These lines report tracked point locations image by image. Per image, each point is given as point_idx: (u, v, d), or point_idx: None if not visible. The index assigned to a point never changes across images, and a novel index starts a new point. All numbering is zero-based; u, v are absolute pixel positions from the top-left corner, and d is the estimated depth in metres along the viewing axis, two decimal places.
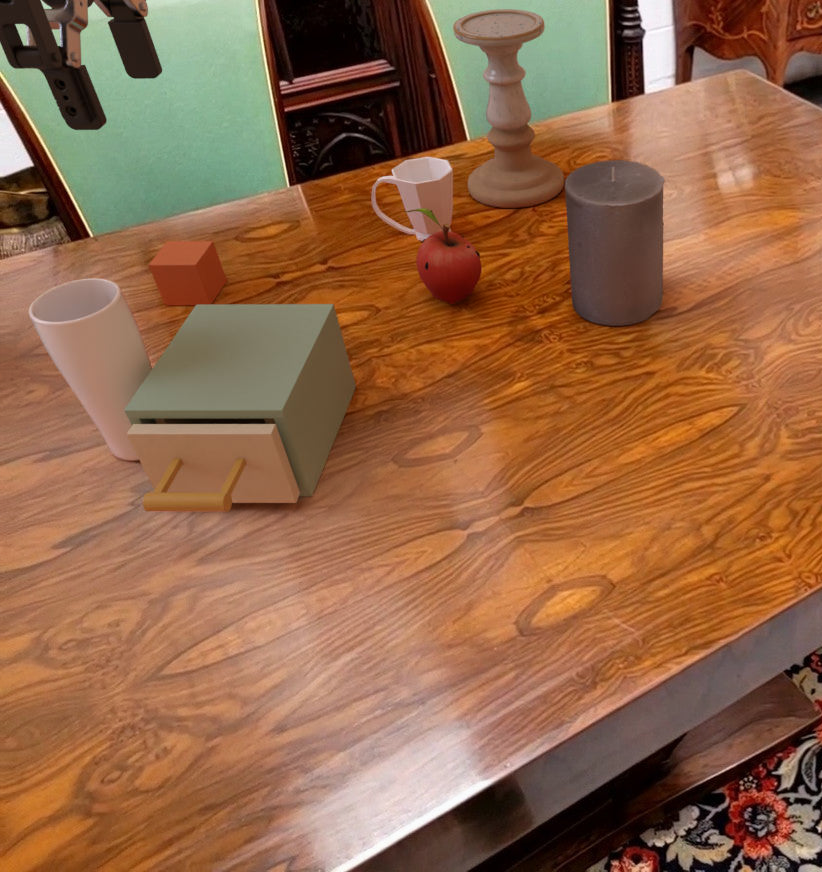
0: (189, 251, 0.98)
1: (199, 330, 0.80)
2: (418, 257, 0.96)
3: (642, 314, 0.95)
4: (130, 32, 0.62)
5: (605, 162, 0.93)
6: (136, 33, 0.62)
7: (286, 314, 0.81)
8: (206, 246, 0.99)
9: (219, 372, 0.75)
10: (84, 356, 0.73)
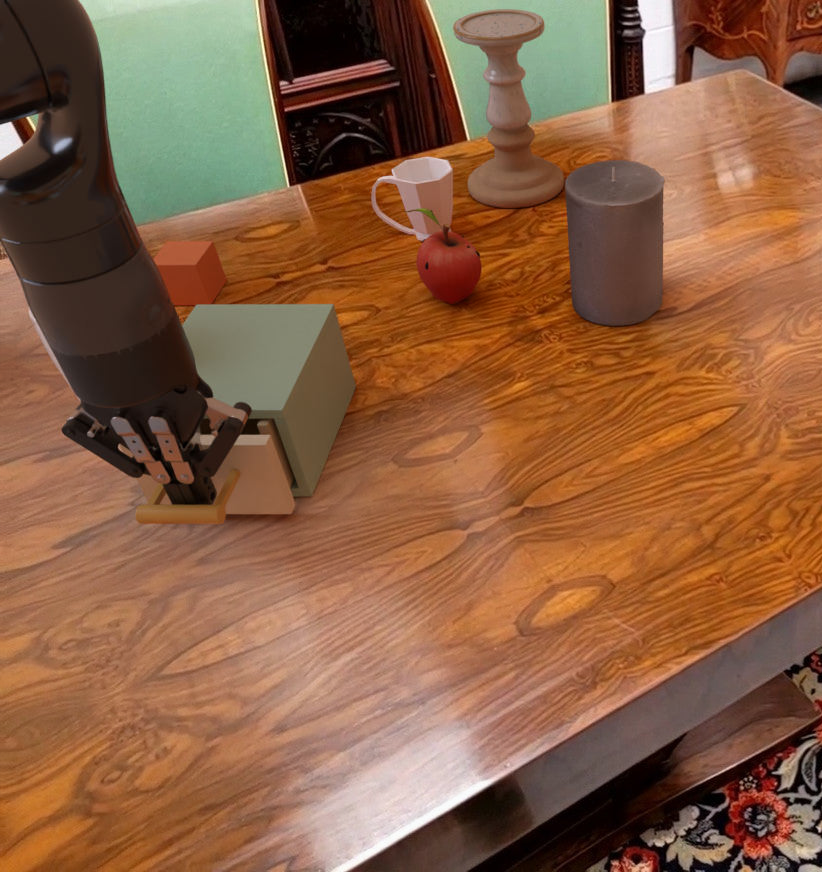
0: (189, 251, 0.98)
1: (199, 330, 0.80)
2: (418, 257, 0.96)
3: (642, 314, 0.95)
4: None
5: (605, 162, 0.93)
6: None
7: (286, 314, 0.81)
8: (206, 246, 0.99)
9: (219, 372, 0.75)
10: None
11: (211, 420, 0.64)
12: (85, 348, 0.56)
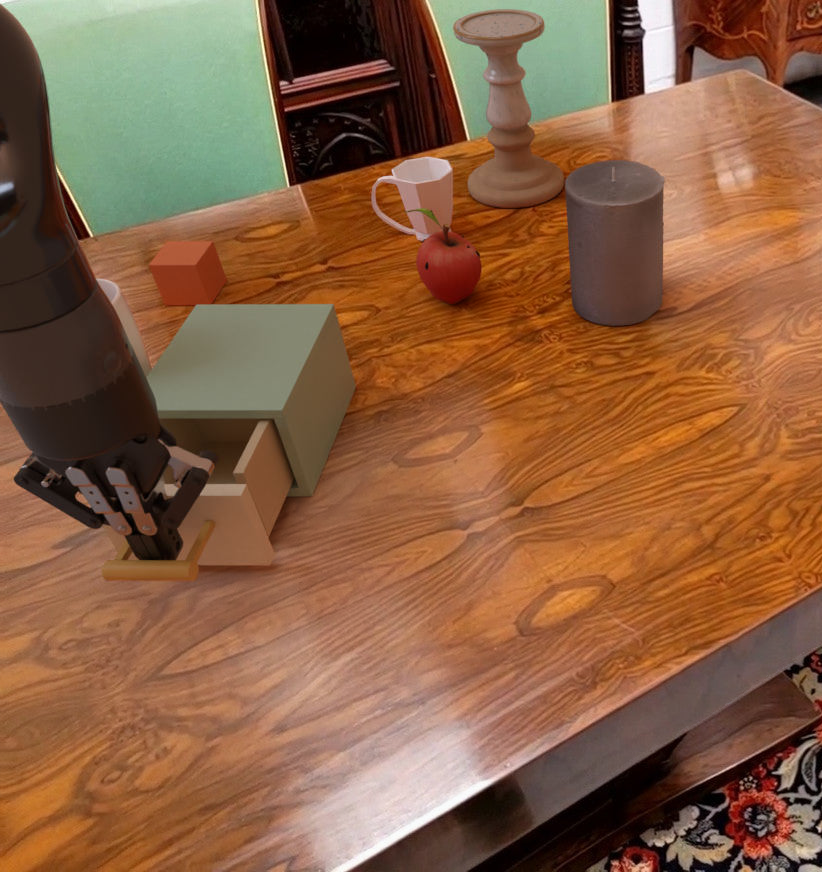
0: (189, 251, 0.98)
1: (199, 330, 0.80)
2: (418, 257, 0.96)
3: (642, 314, 0.95)
4: None
5: (605, 162, 0.93)
6: None
7: (286, 314, 0.81)
8: (206, 246, 0.99)
9: (219, 372, 0.75)
10: None
11: (174, 470, 0.60)
12: (33, 399, 0.52)
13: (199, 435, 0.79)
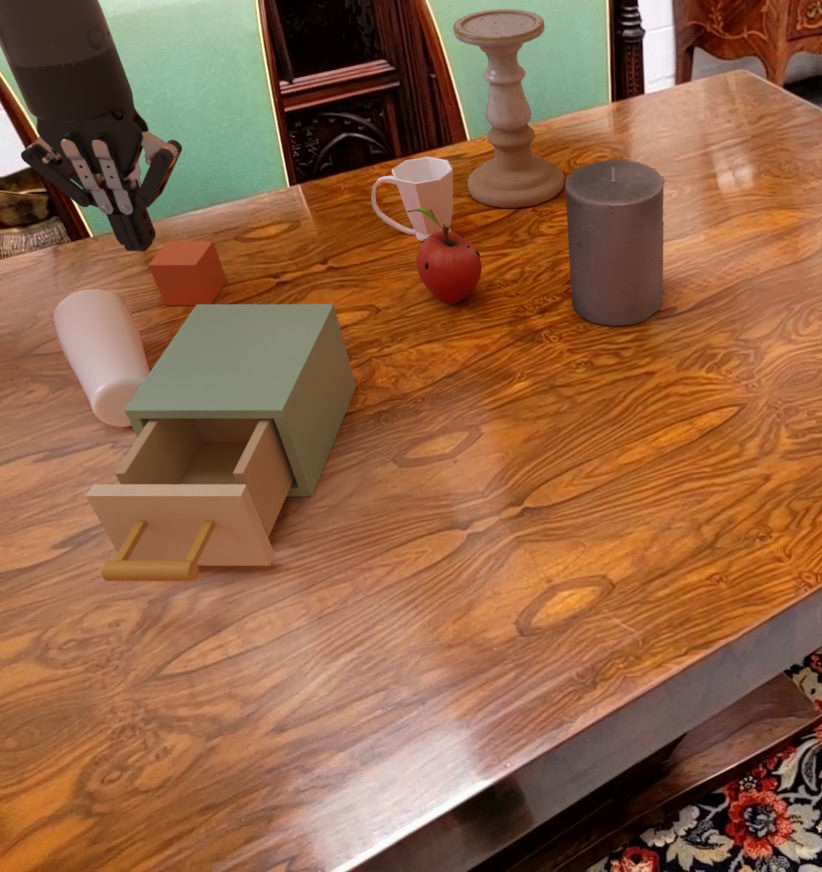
0: (189, 251, 0.98)
1: (199, 330, 0.80)
2: (418, 257, 0.96)
3: (642, 314, 0.95)
4: None
5: (605, 162, 0.93)
6: None
7: (286, 314, 0.81)
8: (206, 246, 0.99)
9: (219, 372, 0.75)
10: (73, 311, 0.87)
11: (146, 151, 0.76)
12: (35, 59, 0.68)
13: (199, 435, 0.79)
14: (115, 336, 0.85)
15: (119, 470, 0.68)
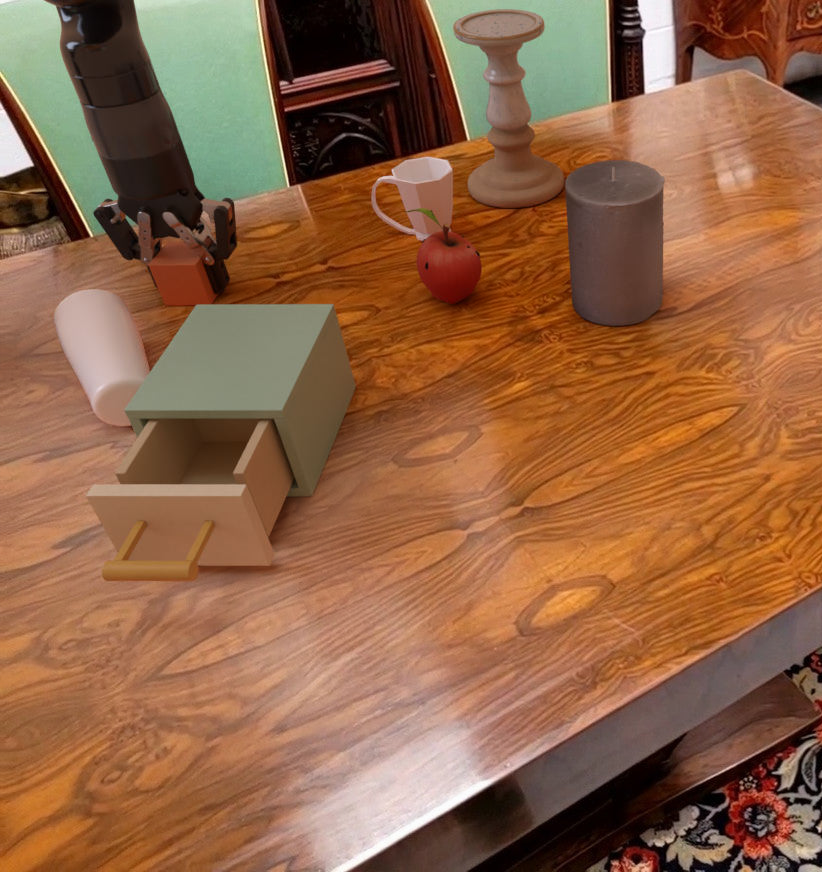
0: (189, 251, 0.98)
1: (199, 330, 0.80)
2: (418, 257, 0.96)
3: (642, 314, 0.95)
4: None
5: (605, 162, 0.93)
6: None
7: (286, 314, 0.81)
8: None
9: (219, 372, 0.75)
10: (74, 310, 0.87)
11: (208, 214, 0.95)
12: (123, 154, 0.87)
13: (199, 435, 0.79)
14: (116, 335, 0.85)
15: (119, 470, 0.68)
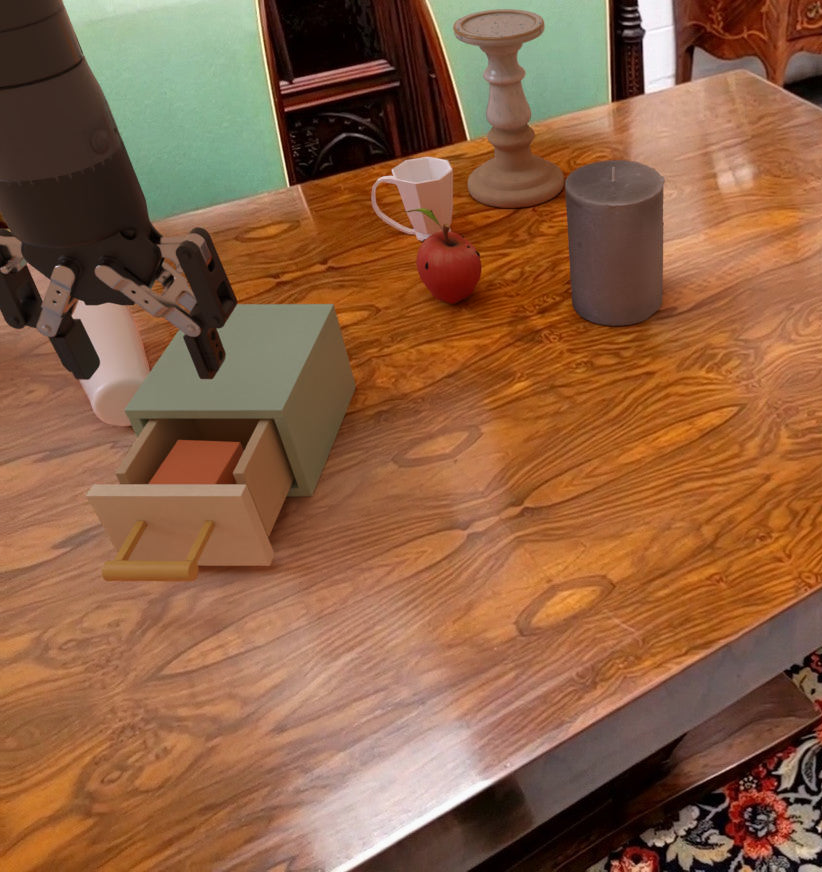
0: (207, 460, 0.70)
1: None
2: (418, 257, 0.96)
3: (642, 314, 0.95)
4: None
5: (605, 162, 0.93)
6: None
7: (286, 314, 0.81)
8: (231, 453, 0.71)
9: (219, 372, 0.75)
10: None
11: (173, 260, 0.58)
12: (19, 171, 0.51)
13: (199, 435, 0.79)
14: (116, 335, 0.85)
15: (119, 470, 0.68)
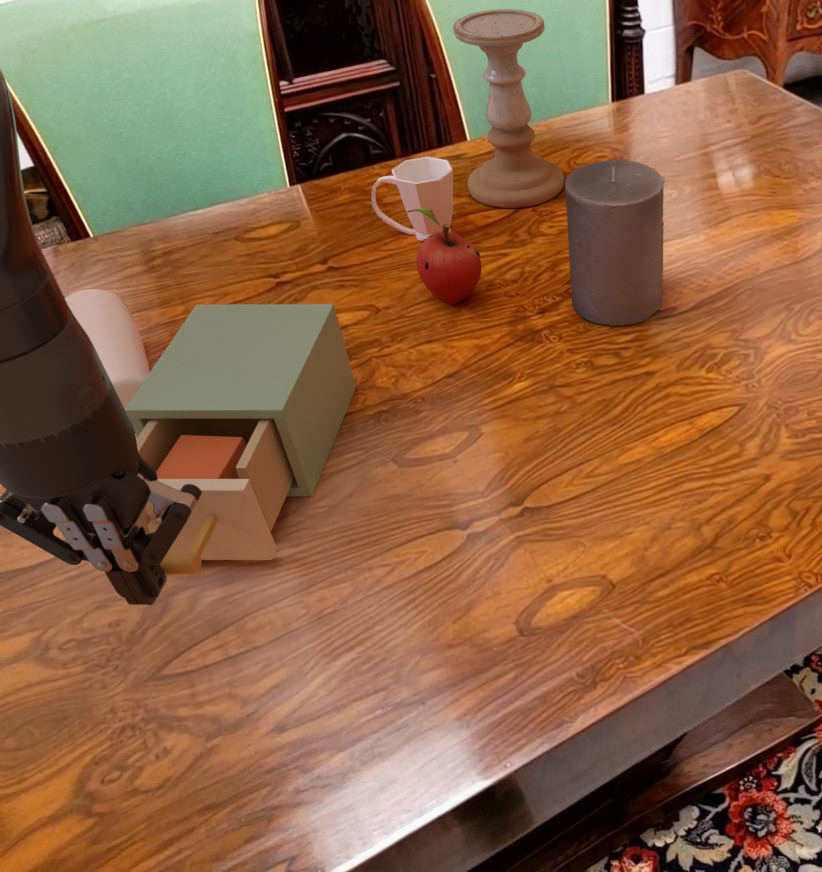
0: (210, 455, 0.71)
1: (199, 330, 0.80)
2: (418, 257, 0.96)
3: (642, 314, 0.95)
4: None
5: (605, 162, 0.93)
6: None
7: (286, 314, 0.81)
8: (233, 448, 0.71)
9: (219, 372, 0.75)
10: (74, 310, 0.87)
11: (155, 505, 0.58)
12: (4, 436, 0.50)
13: (201, 431, 0.79)
14: (116, 335, 0.85)
15: None
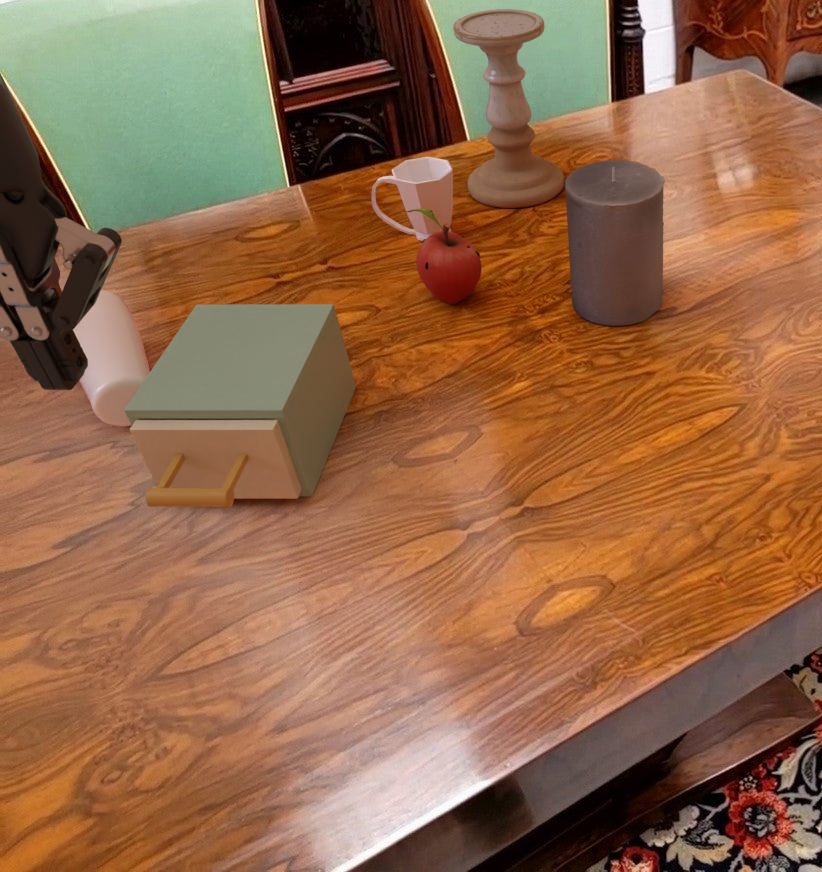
0: None
1: (199, 330, 0.80)
2: (418, 257, 0.96)
3: (642, 314, 0.95)
4: None
5: (605, 162, 0.93)
6: None
7: (286, 314, 0.81)
8: None
9: (219, 372, 0.75)
10: None
11: (64, 248, 0.49)
12: None
13: None
14: (116, 335, 0.85)
15: None
